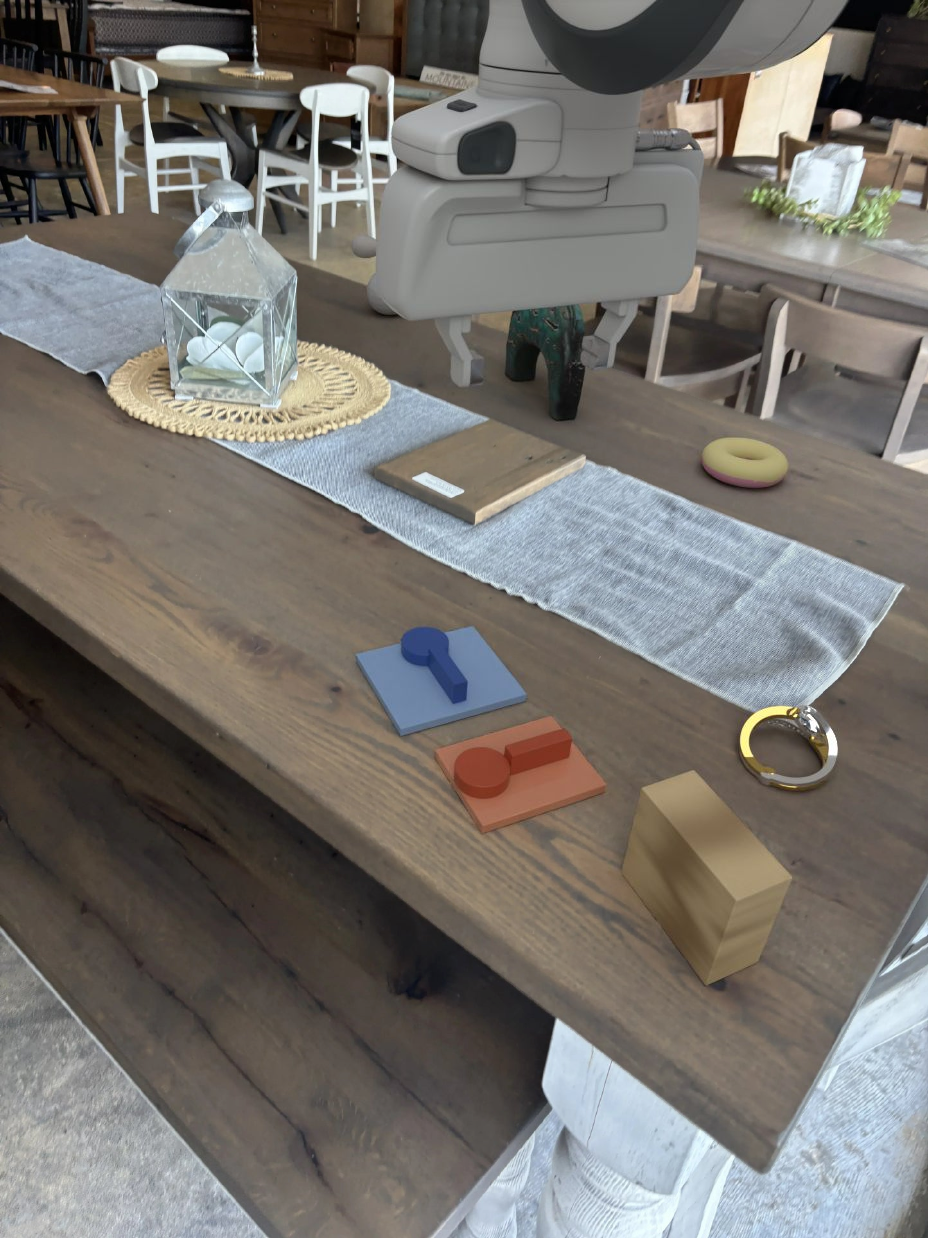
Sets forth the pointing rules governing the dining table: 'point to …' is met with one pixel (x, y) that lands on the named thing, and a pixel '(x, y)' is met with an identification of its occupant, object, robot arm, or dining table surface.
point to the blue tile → (420, 696)
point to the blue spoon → (435, 659)
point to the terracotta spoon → (507, 763)
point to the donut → (744, 462)
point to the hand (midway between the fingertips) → (533, 374)
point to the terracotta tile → (525, 779)
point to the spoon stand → (703, 876)
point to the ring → (807, 726)
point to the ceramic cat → (549, 353)
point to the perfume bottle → (367, 249)
